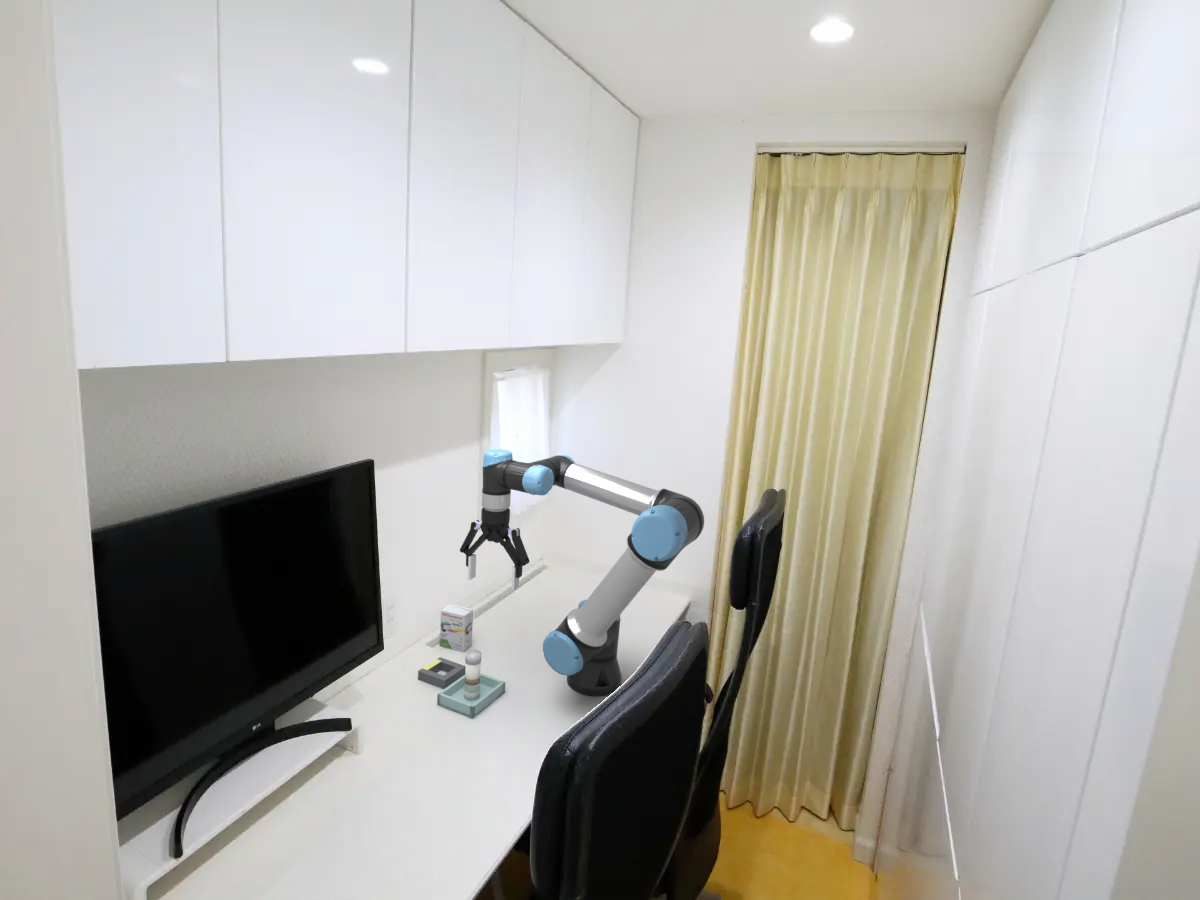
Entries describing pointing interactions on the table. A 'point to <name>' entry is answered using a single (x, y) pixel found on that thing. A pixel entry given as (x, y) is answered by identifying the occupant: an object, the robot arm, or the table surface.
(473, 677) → the grey-white banded cylinder
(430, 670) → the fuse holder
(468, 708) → the parts tray
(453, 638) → the ink box
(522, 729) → the table surface
